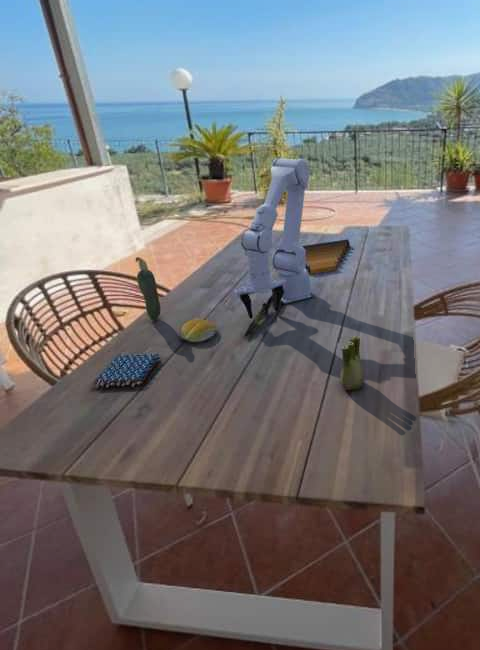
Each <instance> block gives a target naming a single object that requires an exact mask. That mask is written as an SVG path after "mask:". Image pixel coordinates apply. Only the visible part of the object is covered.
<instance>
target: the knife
mask: <svg viewBox="0 0 480 650" xmlns="http://www.w3.org/2000/svg"><path fill="white" fill-rule="evenodd" d="M272 305H273V295H272V294H271V295H270V296H269V298H268V299H267V301H266V302H263V304H262V308H260V310H259V312H258V313H257V314H256V316H255V317H254V319H253V320H252V321H251V322H250V324H249V326H248V328H247V330H246V332H245V334H244V337H248V336H250V335H251V334H252V333H253V331H254V330H255V328H256V327H257V325H258V324H259V323H260V321H261V319H263V318H264V316H265V315H266V316H267V315H268V313H269V309H271V306H272Z"/></svg>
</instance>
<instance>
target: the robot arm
mask: <svg viewBox="0 0 480 650" xmlns="http://www.w3.org/2000/svg"><path fill="white" fill-rule="evenodd" d="M270 176H271V181H270V184H269V187H268V191H267V193H266V198H265V200H264V203H263V204H262V205H259V206H258V207H257V209H256V211H255V214H254V217H253V219H252V222H251V224H250V226H249V228H248V229H247V230H245V231H244V232H243V233H242V235H241V239H240V241H239V242H240V246H241V248H242V249H243V251H244V255H245V256H246V260H247V268H248V277H249V284H247V285H244V286H242V287H239V288H235V289H234V290H233V291H234V296H235V298H236V299H240V300H241V302H242V304H243V305H244V307H245V309H246V311H247V316H248V318H249V319H253V317H254V315H253V310H252V298H250V295H252V294H257V293H261V294H264V293H265V294H266V293H269V291H271V292H272V293H271V296H272V295H273V302H272V305H273V310H274V311H275V313H278V312H279V308H280V303H281V302H282V303H283V304H290V303H293V302H297V301H301V300H305V299H309V298H312V295H311V281H310V279H311V278H310V273H309V272H308V271H307V270H306V268H305V267H306V250H305V249H304V248H303V247H302V246H303V245H302V244H300V236H301V226H302V218H303V211H304V203H305V194H306V193H305V192H306V190H307V189H308V187H309V178H310V167H309V164H308V162H307V161H306V160H305V159H304V158H303V159H301V158H300V159H294V158H293V159H292V158H281V157H276V158H275V159H274V160H273V161H272V164H271V167H270ZM285 191H287V195H286V205H285V211H284V212H285V213H284V222H283V230H282V239H281V241H280V242H279V243H278V244H276V245H275V246H274V251H273V253H272V256H271V260H270V259H269V250H270V248H271V247H272V243H273V239H272V238H273V232H272V231H273V228H274V226H275V224H276V221H277V218H278V216H279V213H278V210H277V207H278V206H279V204H280V201H281V200H282V198H283V196H284V194H285ZM293 252H295V253H293ZM269 260H270V261H271V266H272V268H273V269H274V270H275V272H276V273H277V274H278V279H271V270H270V261H269Z"/></svg>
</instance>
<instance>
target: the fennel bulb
mask: <svg viewBox="0 0 480 650" xmlns="http://www.w3.org/2000/svg"><path fill="white" fill-rule="evenodd" d="M360 345H361V337H360V335H355V336H354V337H350V338H349V341H348V346H346V345H342V346H341V352H342V368H341V370H340V371H341V372H340V377H339V378H340V384H341V387H342V388H343V390H344V391H354V390H355V391H356V390H358V389H360V388H361V387H362V386H363V384H364V375H363V367H362V360H361V355H360Z"/></svg>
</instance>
